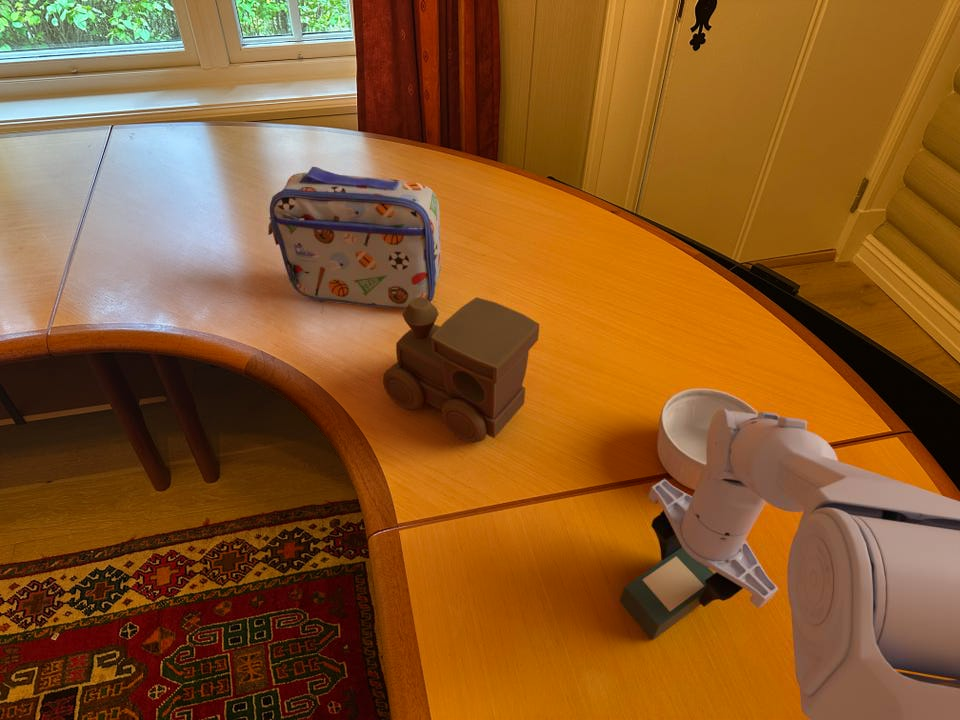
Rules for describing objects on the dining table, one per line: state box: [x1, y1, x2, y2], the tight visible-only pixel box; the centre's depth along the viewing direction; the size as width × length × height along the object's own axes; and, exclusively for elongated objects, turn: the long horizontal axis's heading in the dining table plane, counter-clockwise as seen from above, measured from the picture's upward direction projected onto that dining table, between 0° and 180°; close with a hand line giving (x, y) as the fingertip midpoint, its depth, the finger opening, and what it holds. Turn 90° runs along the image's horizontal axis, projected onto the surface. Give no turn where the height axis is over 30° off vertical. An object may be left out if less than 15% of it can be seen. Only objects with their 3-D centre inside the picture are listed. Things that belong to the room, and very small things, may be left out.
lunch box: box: [267, 166, 442, 310], centre depth 98 cm, size 28×10×22 cm, turn 82°
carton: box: [619, 547, 715, 641], centre depth 64 cm, size 9×5×4 cm, turn 123°
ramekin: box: [656, 387, 759, 491], centre depth 77 cm, size 13×13×7 cm
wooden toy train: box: [382, 296, 540, 444], centre depth 81 cm, size 20×11×17 cm, turn 55°
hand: (688, 578), depth 66 cm, fingers closed on carton, 5 cm apart
